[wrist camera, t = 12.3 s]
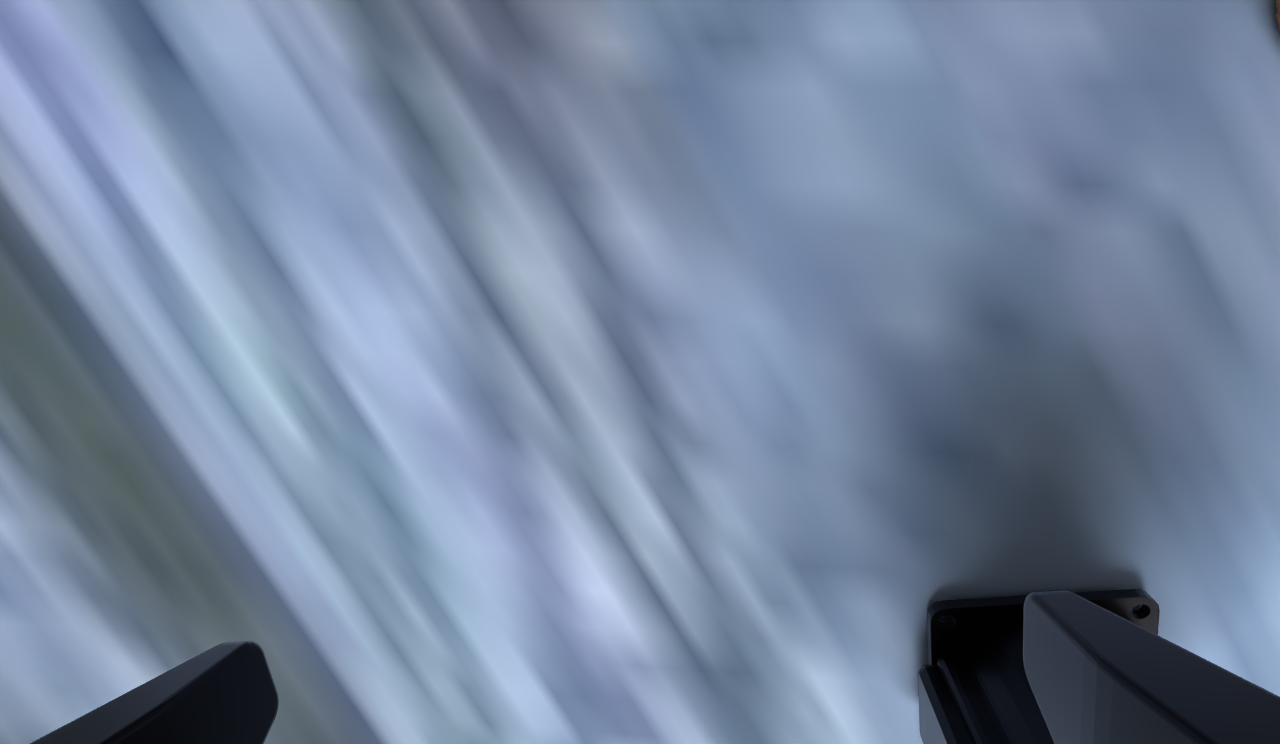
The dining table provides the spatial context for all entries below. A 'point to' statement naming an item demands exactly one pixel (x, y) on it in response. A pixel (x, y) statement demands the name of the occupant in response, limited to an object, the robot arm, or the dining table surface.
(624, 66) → the dining table surface
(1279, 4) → the sauce bottle
